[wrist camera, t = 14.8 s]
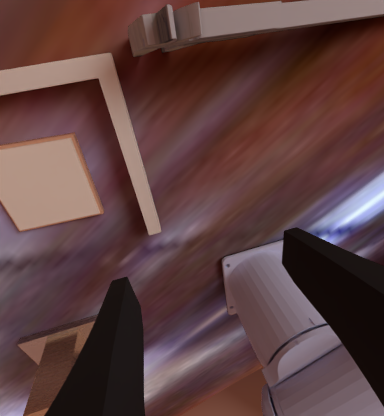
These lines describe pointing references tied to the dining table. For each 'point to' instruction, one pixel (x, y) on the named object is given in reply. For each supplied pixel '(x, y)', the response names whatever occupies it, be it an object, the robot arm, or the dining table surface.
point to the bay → (114, 97)
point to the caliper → (239, 21)
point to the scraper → (53, 360)
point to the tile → (46, 182)
